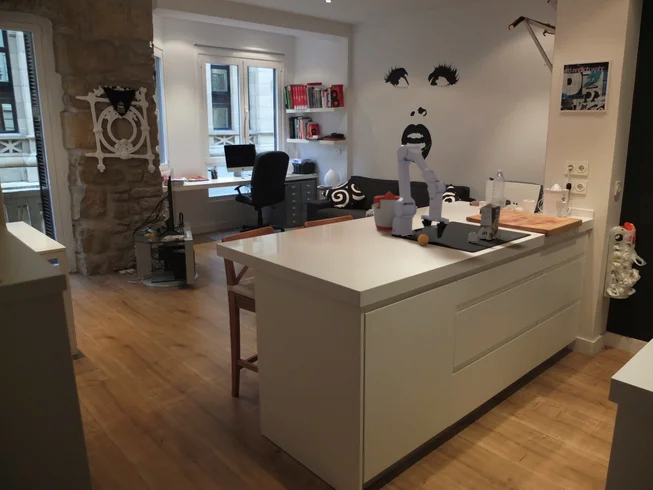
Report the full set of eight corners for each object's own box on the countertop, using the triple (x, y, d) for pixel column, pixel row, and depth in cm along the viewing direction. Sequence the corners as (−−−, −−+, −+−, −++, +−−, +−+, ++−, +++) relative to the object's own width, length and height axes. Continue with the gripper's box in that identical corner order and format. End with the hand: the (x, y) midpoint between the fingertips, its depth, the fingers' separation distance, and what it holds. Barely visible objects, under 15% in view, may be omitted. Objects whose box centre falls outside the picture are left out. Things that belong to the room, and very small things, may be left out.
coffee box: (491, 241, 244) (494, 208, 241) (478, 239, 248) (481, 206, 244) (498, 238, 251) (501, 205, 248) (485, 236, 255) (488, 204, 251)
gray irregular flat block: (467, 242, 241) (468, 226, 239) (469, 242, 242) (470, 225, 240) (482, 245, 236) (483, 228, 235) (483, 244, 238) (485, 227, 236)
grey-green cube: (424, 239, 239) (424, 226, 238) (432, 237, 243) (433, 225, 242) (434, 241, 235) (435, 228, 233) (443, 239, 239) (443, 227, 237)
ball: (423, 233, 237) (421, 244, 237) (416, 233, 233) (414, 243, 234) (431, 235, 233) (430, 246, 234) (425, 234, 230) (423, 245, 230)
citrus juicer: (364, 227, 272) (365, 190, 267) (392, 225, 279) (394, 189, 275) (379, 233, 258) (381, 193, 254) (408, 231, 265) (410, 192, 261)
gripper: (417, 206, 238) (415, 235, 241) (443, 210, 228) (441, 240, 231) (427, 205, 243) (425, 233, 246) (452, 209, 232) (450, 238, 235)
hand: (433, 236), depth 238 cm, fingers closed on grey-green cube, 6 cm apart
